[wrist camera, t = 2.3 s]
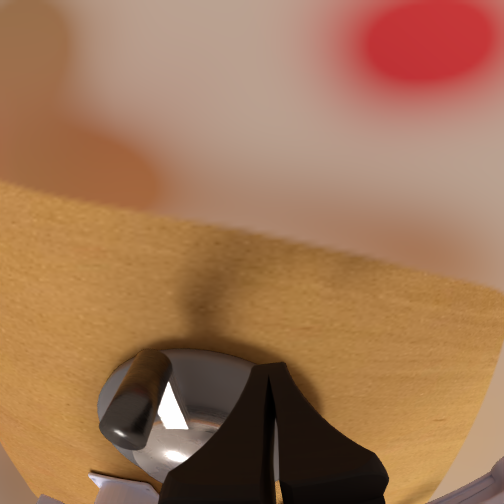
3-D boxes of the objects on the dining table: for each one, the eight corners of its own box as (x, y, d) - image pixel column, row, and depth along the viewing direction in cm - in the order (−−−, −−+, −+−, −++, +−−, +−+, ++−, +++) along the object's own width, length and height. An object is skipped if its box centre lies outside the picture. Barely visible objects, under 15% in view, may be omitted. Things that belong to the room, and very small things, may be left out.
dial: (270, 474, 19) (272, 541, 13) (163, 474, 19) (148, 534, 13) (239, 326, 15) (230, 421, 9) (89, 336, 15) (33, 405, 9)
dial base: (312, 474, 21) (314, 485, 20) (146, 476, 22) (143, 487, 21) (306, 334, 17) (310, 348, 15) (71, 350, 18) (62, 361, 16)
